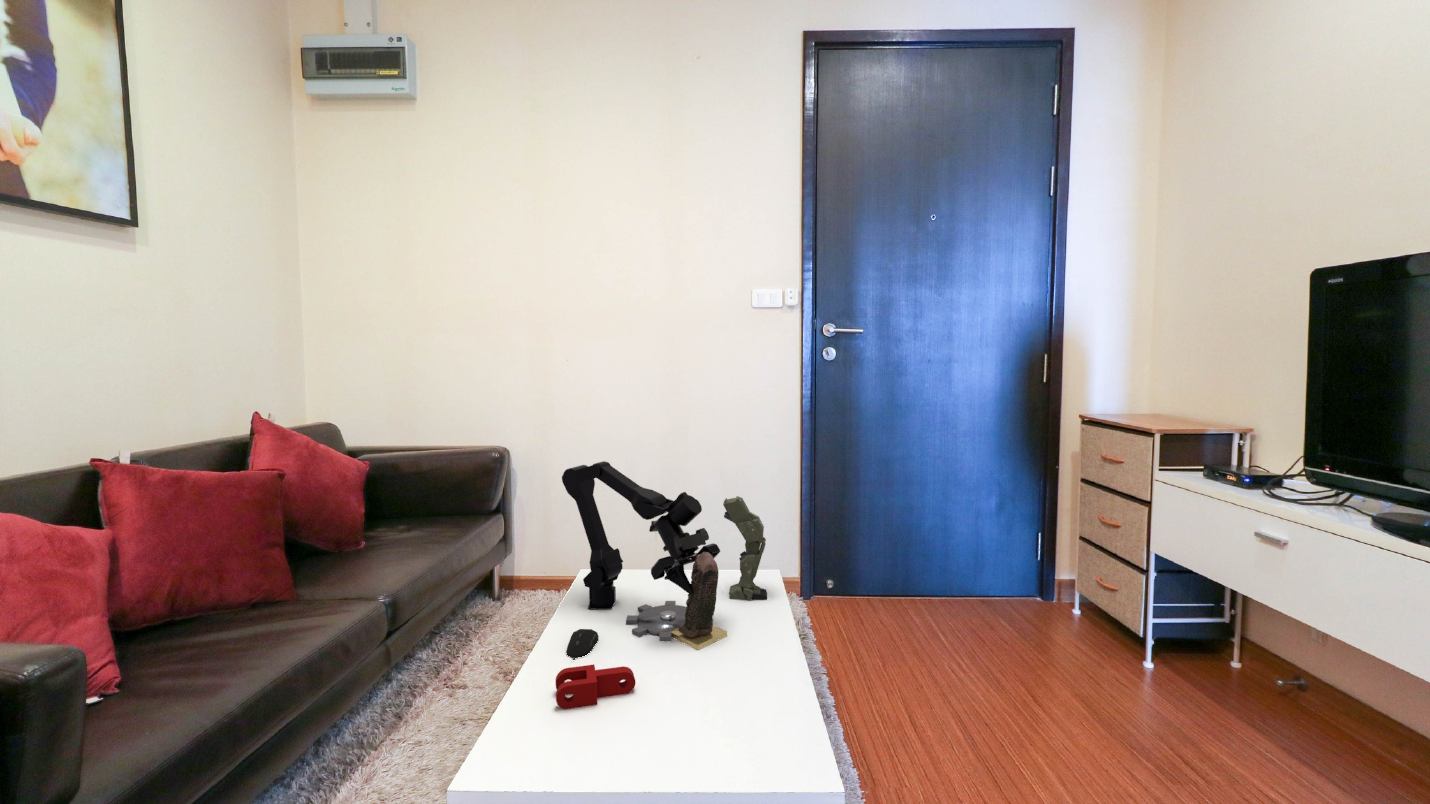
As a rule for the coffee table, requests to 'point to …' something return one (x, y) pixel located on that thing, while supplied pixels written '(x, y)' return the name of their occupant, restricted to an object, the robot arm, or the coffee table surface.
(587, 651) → the gaming mouse
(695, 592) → the statue
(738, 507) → the mechanical leg
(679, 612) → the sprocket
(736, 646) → the coffee table surface
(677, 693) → the coffee table surface
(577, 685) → the mechanical linkage
